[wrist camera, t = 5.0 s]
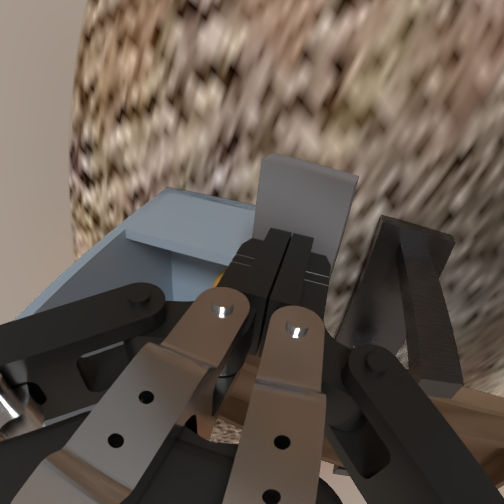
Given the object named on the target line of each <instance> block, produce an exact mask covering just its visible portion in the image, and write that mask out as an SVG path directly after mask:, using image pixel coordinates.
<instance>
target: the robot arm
mask: <svg viewBox="0 0 504 504" xmlns="http://www.w3.org/2000/svg"><path fill="white" fill-rule="evenodd" d="M291 234H292V232H288V231H284V230H279V229H275V228H270V229H269V231H268V233H267V235H266V237H265V239H264V241H263V240H259V239H255V238H251V239H249V240H248V241H246V242H244V243H243V244H241V246H240V248H239V249H238V251H237V253H236V255H235V256H234V258H233V259H232V262H231V263H230V264H229V266H228V268H227V269H226V271H225V273H224V274H223V276H222V278H221V279H220V281H219V283H218V284H217V286H216V287H214V288H210V289H207V290H205V291H203V292H202V293H201V294H200V295H199V296H198V297H197V298H196V300H195V301H167V300H166V299H165V294H164V292H163V291H162V290H161V289H160V288H159V287H158V286H156V285H154V284H151V283H146V282H137V283H132V284H128V285H125V286H122V287H119V288H116V289H112V290H109V291H106V292H103V293H100V294H97V295H93V296H90V297H87V298H84V299H81V300H77V301H74V302H71V303H68V304H65V305H62V306H58V307H55V308H52V309H49V310H46V311H43V312H40V313H36V314H33V315H30V316H27V317H24V318H21V319H18V320H14V321H11V322H8V323H5V324H2V325H0V504H343V503H342V502H341V500H340V498H339V497H338V496H337V494H336V493H335V491H334V490H333V489H332V488H331V487H330V486H329V485H328V484H327V483H326V482H325V481H324V480H322V479H321V478H320V477H319V472H320V464H321V456H322V447H323V437H324V435H325V436H326V438H327V440H328V441H329V443H330V445H331V446H332V448H333V450H334V451H335V453H336V454H337V456H338V458H339V459H340V461H341V463H342V464H343V466H344V467H345V469H346V471H347V472H348V474H349V475H350V477H351V478H352V480H353V482H354V483H355V485H356V487H357V488H358V490H359V491H360V493H361V494H362V496H363V497H364V499H365V501H366V502H367V504H504V498H503V496H502V495H501V494H500V492H499V491H498V489H497V488H496V487H495V485H494V484H493V482H492V481H491V480H490V478H489V477H488V475H487V474H486V473H485V471H484V470H483V468H482V467H481V466H480V464H479V463H478V462H477V460H476V459H475V458H474V456H473V455H472V454H471V452H470V451H469V449H468V448H467V447H466V445H465V444H464V443H463V441H462V440H461V439H460V438H459V436H458V435H457V434H456V432H455V431H454V430H453V428H452V427H451V426H450V424H449V423H448V422H447V421H446V419H445V418H444V417H443V415H442V414H441V413H440V412H439V410H438V409H437V408H436V406H435V405H434V404H433V403H432V401H431V400H430V399H429V398H428V396H427V395H426V394H425V392H424V391H423V390H422V389H421V387H420V386H419V385H418V384H417V382H416V381H415V380H414V379H413V377H412V376H411V375H410V374H409V373H408V371H407V370H406V369H405V368H404V366H403V365H402V364H401V363H400V361H399V360H398V359H397V358H396V357H395V356H394V354H393V353H391V352H390V351H389V350H387V349H386V348H384V347H381V346H378V345H374V344H365V345H361V346H358V347H356V348H355V349H354V350H352V349H350V348H348V347H346V346H344V345H342V344H341V343H339V342H337V341H336V340H335V339H333V338H332V337H331V336H330V334H329V333H328V332H327V330H326V328H325V326H324V321H323V320H324V312H325V305H326V299H327V292H328V284H329V277H330V270H331V265H330V263H329V261H328V259H327V257H326V256H325V255H321V254H317V253H313V252H311V249H312V245H313V241H314V238H313V237H309V236H305V235H301V234H296V233H293V235H292V238H291ZM290 240H291V241H290ZM122 341H123V344H122V345H120V346H117V347H114V348H111V349H108V350H105V351H103V352H100V353H97V354H94V355H91V356H88V357H81V356H82V355H84V354H87V353H90V352H93V351H96V350H99V349H102V348H105V347H107V346H110V345H113V344H116V343H119V342H122ZM260 342H261V344H260ZM259 345H260V349H259V354H258V357H261V360H260V365H259V369H258V373H257V377H256V380H255V383H254V387H253V391H252V395H251V399H250V403H249V407H248V411H247V415H246V418H245V422H244V426H243V430H242V434H241V437H240V441H239V445H237V444H224V443H214V442H210V441H209V439H210V436H211V433H212V430H213V427H214V424H215V422H216V420H217V418H218V416H219V414H220V412H221V410H222V408H223V406H224V404H225V402H226V400H227V399H228V397H229V395H230V393H231V391H232V389H233V387H234V385H235V383H236V381H237V379H238V377H239V375H240V372H241V368H242V366H243V364H244V362H245V359H246V357H247V354H251V355H254V356H256V354H257V351H258V348H259ZM97 403H98V404H97ZM94 404H97V405H96V406H95V407H94V409H93V410H91V411H87V412H83V413H81V414H78V415H75V416H73V417H70V418H67V419H65V420H62V421H59V422H56V423H54V424H51V425H48V426H45V427H42V426H43V423H44V421H46V420H50V419H53V418H56V417H59V416H62V415H65V414H68V413H71V412H74V411H77V410H80V409H83V408H86V407H88V406H91V405H94Z"/></svg>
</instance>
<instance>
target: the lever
mask: <svg viewBox="0 0 504 504" xmlns="http://www.w3.org/2000/svg"><path fill="white" fill-rule="evenodd" d="M358 178H359V176H357V175H353V174H350V173H347V172H343V171H340V170H337V169H333V168H330V167H326V166H322V165H319V164H315V163H312V162H308V161H304V160H300V159H296V158H293V157H289V156H285V155H281V154H277V153H272V154H270V155H269V156H267V157H265V158H263V159H262V162H261V170H260V178H259V186H258V194H257V201H256V209H255V217H254V225H253V233H252V238H255V239H259V240H263V241H264V239H265V237H266V235H267V233H268V231H269V229H270V228H275V229H279V230H284V231H288V232H292V234H291V238H292V235H293V233H296V234H301V235H305V236H309V237H313V238H314V241H313V245H312V249H311V252H313V253H317V254H321V255H325V256H326V257H327V259H328V261H329V263H330V265H331V270H330V277H331V274H332V271H333V268H334V264H335V261H336V258H337V254H338V251H339V248H340V244H341V241H342V237H343V234H344V230H345V227H346V223H347V220H348V216H349V213H350V209H351V205H352V201H353V198H354V194H355V190H356V186H357V182H358ZM290 241H291V240H290ZM330 277H329V280H330ZM260 344H261V342H260ZM259 349H260V345H259V348H258V351H257V354H256V356H254V355H251V354H247V357H246V359H245V362H244V364H243V366H242V368H241V372H240V375H239V377H238V379H237V381H236V383H235V385H234V387H233V389H232V391H231V393H230V395H229V397H228V399H227V400H226V402H225V404H224V406H223V408H222V410H221V412H220V414H219V416H218V418H219V419H221V420H223V421H225V422H227V423H229V424H232V425H234V426H236V427H238V428H240V429H243V426H244V422H245V418H246V415H247V411H248V407H249V403H250V399H251V395H252V391H253V387H254V383H255V380H256V377H257V373H258V369H259V365H260V360H261V357H258V354H259ZM406 370H407V369H406ZM407 371H408V373H409V370H407ZM428 398H429V399H430V400H431V401H432V403H433V404H434V405H435V406H436V408H437V409H438V410H439V412H440V413H441V414H442V415H443V417H444V418H445V419H446V421H447V422H448V423H449V424H450V426H451V427H452V428H453V430H454V431H455V432H456V434H457V435H458V436H459V438H460V439H461V440H462V441H463V443H464V444H465V445H466V447H467V448H468V449H469V451H470V452H471V454H472V455H473V456H474V458H475V459H476V460H477V462H478V463H479V464H480V466H481V467H482V468H483V470H484V471H485V473H486V474H487V475H488V477H489V478H490V480H491V481H492V482H493V484H494V485H495V487H496V488H497V489H498V488H500V487H502V486H503V485H504V398H503V397H499V396H496V395H492V394H488V393H484V392H481V391H477V390H474V389H470V388H467V387H463V386H462V387H461V389H460V390H459V391H458V392H457V393H456V394H455V395H454V396H453V397H452V398H451V399H447V398H439V397H432V396H428ZM321 460H322V461H325V462H329V463H331V464H335V465H338V466H341V467H344V466H343V464H342V463H341V461H340V459H339V458H338V456H337V454H336V453H335V451H334V450H333V448H332V446H331V445H330V443H329V441H328V440H327V438H326V436H325V435H324V437H323V447H322V456H321ZM344 468H345V467H344Z"/></svg>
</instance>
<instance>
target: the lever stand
mask: <svg viewBox="0 0 504 504" xmlns="http://www.w3.org/2000/svg"><path fill="white" fill-rule="evenodd" d="M454 244H455V242H454V240H453V238H452V236H451V235H449V234H446V233H442V232H439V231H436V230H433V229H429V228H426V227H423V226H419V225H416V224H412V223H409V222H405V221H402V220H398V219H395V218H391V217H388V216H384V215H381V217H380V220H379V223H378V226H377V230H376V233H375V236H374V239H373V242H372V244H371V247H370V250H369V253H368V256H367V259H366V262H365V264H364V267H363V270H362V273H361V275H360V278H359V281H358V283H357V286H356V289H355V291H354V294H353V296H352V299H351V302H350V304H349V307H348V309H347V312H346V314H345V317H344V319H343V321H342V324H341V326H340V329H339V331H338V333H337V336H336V338H335V340H336V341H337V342H339V343H341V344H342V345H344V346H346V347H348V348H350V349H352V350H354V349H355V348H356V347H358V346H361V345H365V344H374V345H378V346H381V347H384V348H386V349H387V350H389V351H390V352H391V353H393V354H394V356H395V355H396V354H397V352H398V350H399V349H400V347H401V345H402V344H403V342H404V341H405V339H407V350H408V362H409V374H410V375H411V376H412V377H413V379H414V380H415V381H416V382H417V384H418V385H419V386H420V387H421V389H422V390H423V391H424V392H425V394H426V395H427V396H432V397H439V398H447V399H451V398H452V397H453V396H454V395H455V394H456V393H457V392H458V391H459V390H460V389H461V387H462V386H463V385H464V383H463V377H462V372H461V366H460V361H459V356H458V352H457V347H456V343H455V338H454V334H453V330H452V326H451V322H450V318H449V314H448V310H447V307H446V303H445V300H444V296H443V293H442V289H441V286H440V283H439V277H440V275H441V273H442V270H443V268H444V266H445V264H446V262H447V260H448V258H449V256H450V253H451V251H452V249H453V247H454ZM333 474H339V475H346V476H350V475H349V474H348V472H347V471H346V469H345V468H344V467H341V466H338V465H335V464H334V469H333Z"/></svg>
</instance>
